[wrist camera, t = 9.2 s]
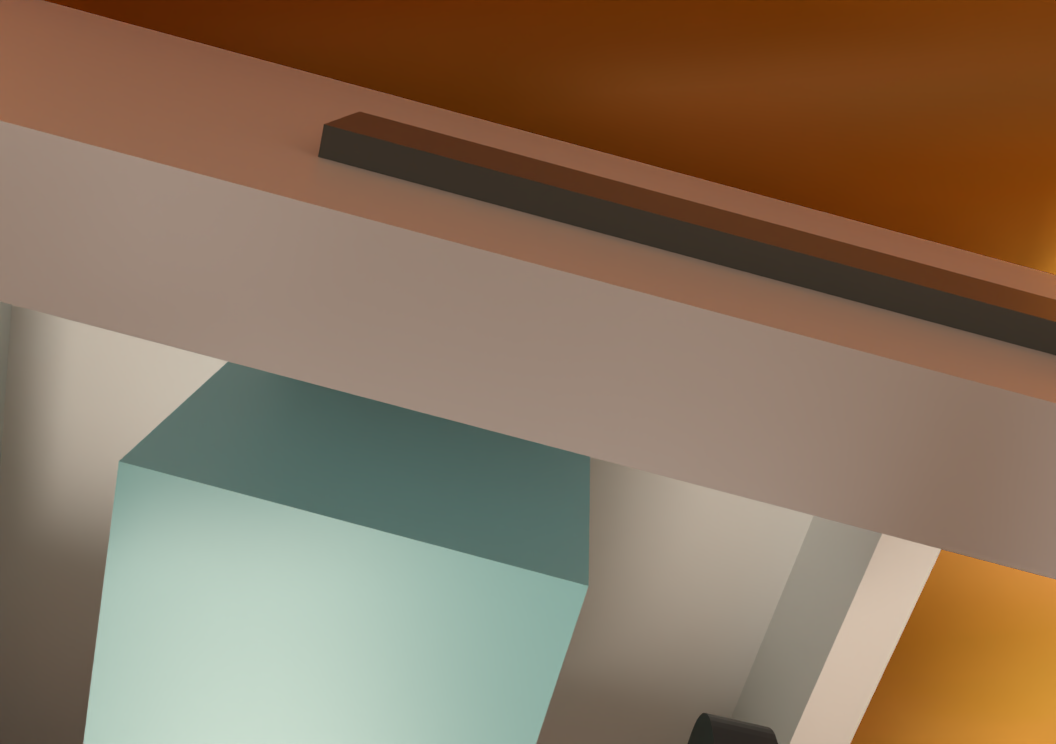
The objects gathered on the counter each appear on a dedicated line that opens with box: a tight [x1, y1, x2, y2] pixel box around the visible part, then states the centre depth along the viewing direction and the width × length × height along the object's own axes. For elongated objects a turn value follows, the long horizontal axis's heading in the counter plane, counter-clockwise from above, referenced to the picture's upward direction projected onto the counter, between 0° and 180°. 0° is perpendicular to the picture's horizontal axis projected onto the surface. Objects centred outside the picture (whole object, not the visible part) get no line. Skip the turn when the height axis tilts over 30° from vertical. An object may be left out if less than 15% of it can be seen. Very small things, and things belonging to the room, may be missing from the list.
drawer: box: [0, 0, 1056, 744], centre depth 14 cm, size 16×18×8 cm
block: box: [83, 362, 590, 744], centre depth 13 cm, size 6×5×5 cm
